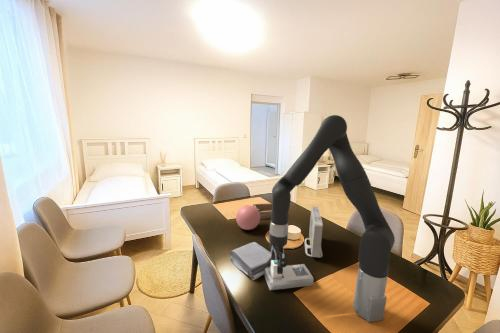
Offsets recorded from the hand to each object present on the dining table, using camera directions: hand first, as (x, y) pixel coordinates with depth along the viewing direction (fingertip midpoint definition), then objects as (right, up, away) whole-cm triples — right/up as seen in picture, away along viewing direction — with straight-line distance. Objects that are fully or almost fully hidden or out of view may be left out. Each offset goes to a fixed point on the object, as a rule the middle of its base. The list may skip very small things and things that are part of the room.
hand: (276, 266), depth 96 cm
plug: (0, -7, +1) cm, 7 cm away
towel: (-10, -5, +13) cm, 17 cm away
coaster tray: (0, +7, +74) cm, 74 cm away
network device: (+24, -3, +29) cm, 38 cm away
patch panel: (+5, -7, +3) cm, 9 cm away
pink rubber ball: (-11, +3, +51) cm, 53 cm away
